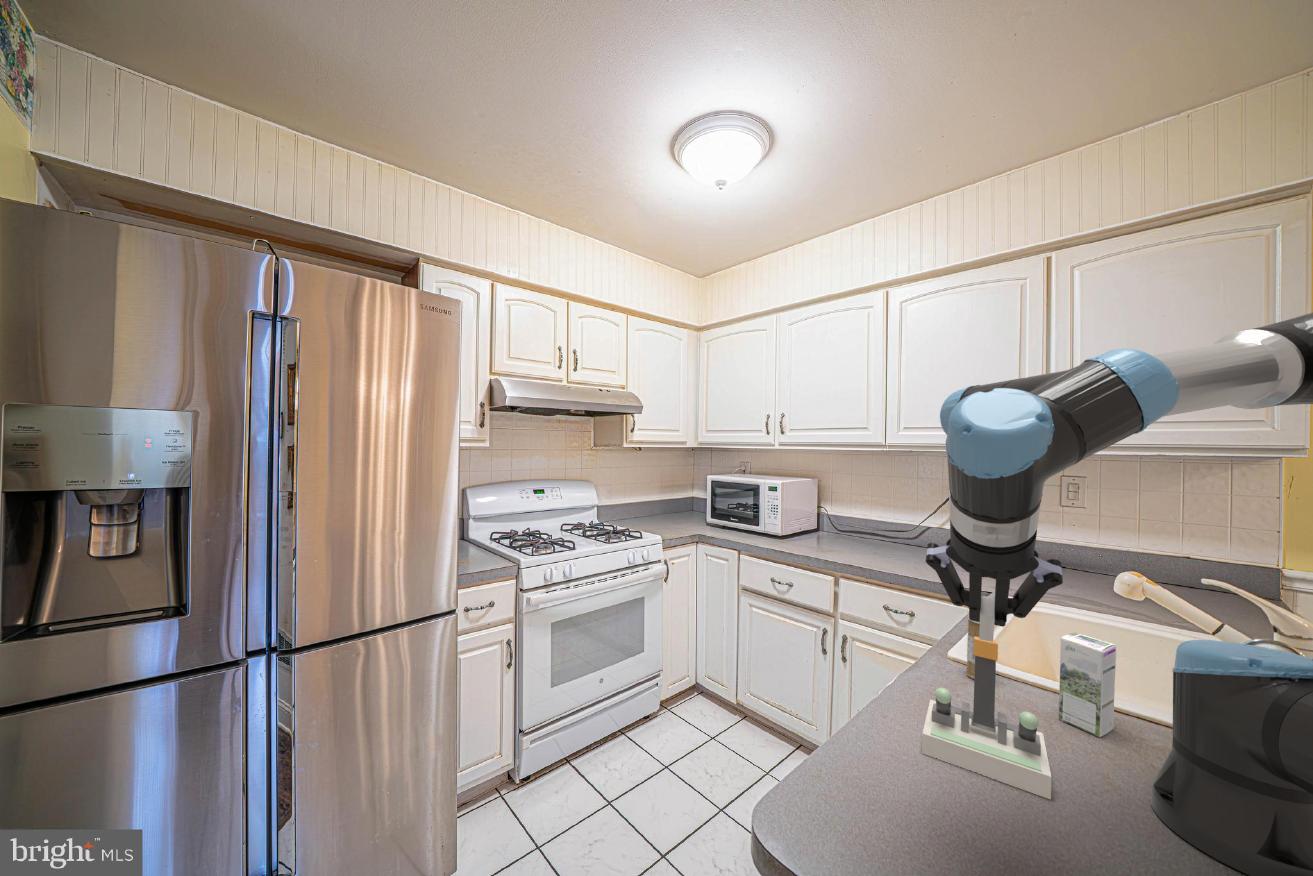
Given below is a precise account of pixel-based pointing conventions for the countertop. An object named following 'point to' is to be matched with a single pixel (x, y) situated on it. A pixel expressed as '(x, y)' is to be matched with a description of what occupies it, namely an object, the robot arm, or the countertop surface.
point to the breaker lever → (984, 684)
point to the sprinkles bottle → (971, 646)
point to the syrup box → (1087, 683)
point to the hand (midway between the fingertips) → (986, 631)
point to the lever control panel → (988, 745)
